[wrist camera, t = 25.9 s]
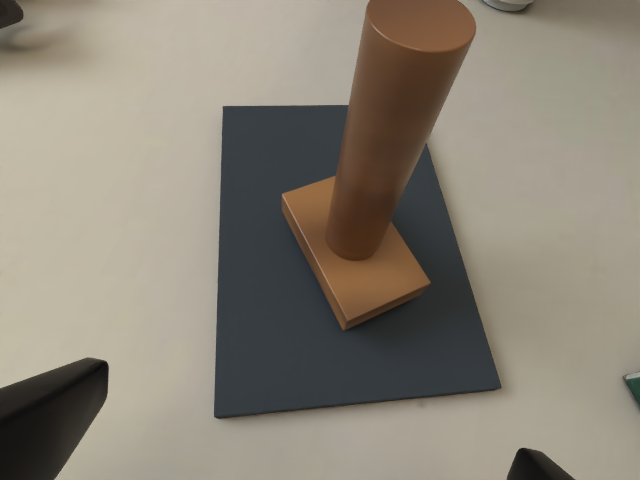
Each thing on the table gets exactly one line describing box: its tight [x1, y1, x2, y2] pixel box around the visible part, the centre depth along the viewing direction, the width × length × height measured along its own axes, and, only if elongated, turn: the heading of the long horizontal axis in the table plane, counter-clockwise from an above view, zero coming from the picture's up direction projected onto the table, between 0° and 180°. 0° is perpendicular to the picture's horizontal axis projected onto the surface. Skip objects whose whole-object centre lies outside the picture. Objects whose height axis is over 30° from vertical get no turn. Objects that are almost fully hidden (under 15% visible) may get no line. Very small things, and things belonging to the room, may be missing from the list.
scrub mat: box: [214, 105, 501, 418], centre depth 23 cm, size 20×14×1 cm
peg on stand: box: [282, 0, 476, 331], centre depth 16 cm, size 8×5×14 cm, turn 26°
